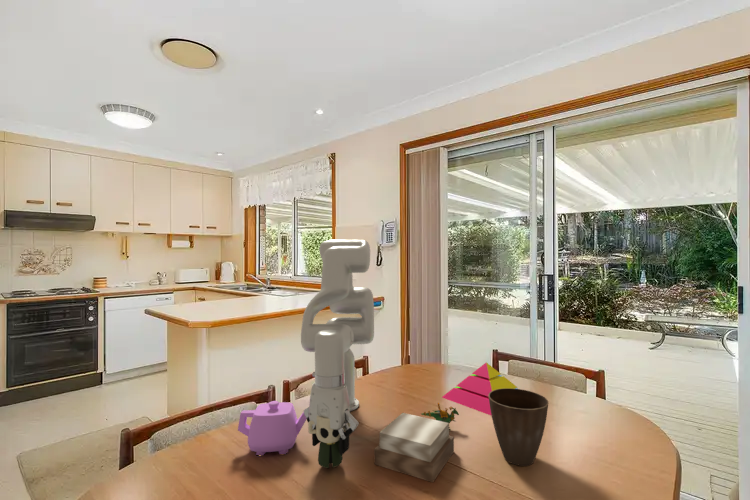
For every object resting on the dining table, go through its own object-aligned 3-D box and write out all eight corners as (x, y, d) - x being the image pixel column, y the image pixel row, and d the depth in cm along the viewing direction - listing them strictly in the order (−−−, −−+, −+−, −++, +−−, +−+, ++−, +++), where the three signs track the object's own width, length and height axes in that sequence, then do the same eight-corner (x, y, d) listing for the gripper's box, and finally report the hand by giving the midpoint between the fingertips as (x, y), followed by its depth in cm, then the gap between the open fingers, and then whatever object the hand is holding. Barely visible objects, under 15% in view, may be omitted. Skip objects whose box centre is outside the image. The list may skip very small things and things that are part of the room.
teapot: (232, 461, 99) (232, 413, 99) (243, 438, 112) (243, 395, 112) (309, 456, 102) (309, 409, 102) (312, 434, 114) (311, 392, 114)
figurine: (460, 430, 116) (460, 404, 116) (421, 431, 115) (421, 404, 115) (457, 426, 119) (457, 400, 119) (419, 427, 118) (419, 401, 119)
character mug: (308, 473, 92) (307, 420, 92) (309, 457, 99) (308, 408, 99) (352, 469, 94) (352, 417, 94) (350, 453, 101) (349, 405, 101)
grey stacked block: (374, 464, 98) (374, 433, 98) (401, 437, 111) (401, 410, 112) (432, 482, 90) (432, 448, 90) (453, 451, 104) (453, 422, 104)
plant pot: (482, 443, 108) (482, 387, 108) (535, 444, 107) (535, 387, 107) (498, 474, 93) (497, 409, 93) (559, 475, 92) (558, 409, 93)
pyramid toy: (535, 401, 140) (534, 363, 140) (497, 421, 124) (497, 377, 124) (477, 384, 159) (477, 350, 159) (439, 399, 143) (438, 361, 143)
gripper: (293, 378, 97) (294, 445, 97) (350, 390, 89) (350, 464, 89) (312, 369, 104) (312, 433, 104) (366, 380, 95) (367, 449, 95)
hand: (330, 447), depth 96 cm, fingers closed on character mug, 7 cm apart
